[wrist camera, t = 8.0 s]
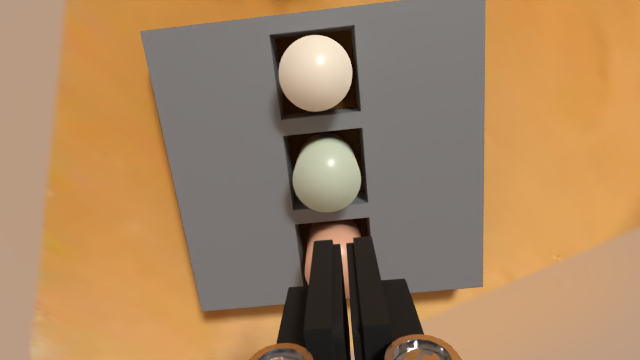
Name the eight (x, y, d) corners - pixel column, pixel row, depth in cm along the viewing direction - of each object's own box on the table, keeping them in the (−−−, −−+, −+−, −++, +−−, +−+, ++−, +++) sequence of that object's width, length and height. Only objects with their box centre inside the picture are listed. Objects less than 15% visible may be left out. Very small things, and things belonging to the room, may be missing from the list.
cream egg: (344, 38, 25) (349, 30, 20) (349, 100, 26) (355, 107, 21) (283, 45, 25) (273, 39, 20) (291, 107, 26) (283, 115, 21)
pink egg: (359, 210, 28) (366, 239, 23) (363, 259, 29) (370, 297, 24) (305, 216, 28) (300, 245, 24) (311, 264, 29) (308, 302, 25)
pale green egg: (352, 130, 27) (358, 142, 22) (356, 185, 28) (363, 209, 23) (294, 136, 27) (288, 150, 22) (301, 190, 28) (296, 215, 23)
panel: (466, -1, 24) (485, -10, 22) (467, 265, 30) (482, 286, 27) (161, 35, 25) (140, 31, 22) (213, 288, 30) (201, 311, 28)
